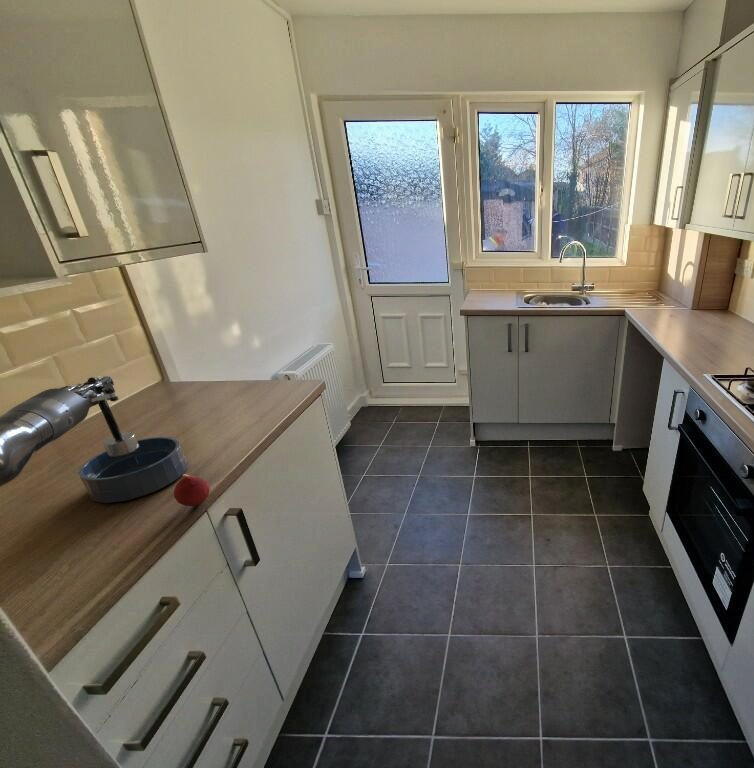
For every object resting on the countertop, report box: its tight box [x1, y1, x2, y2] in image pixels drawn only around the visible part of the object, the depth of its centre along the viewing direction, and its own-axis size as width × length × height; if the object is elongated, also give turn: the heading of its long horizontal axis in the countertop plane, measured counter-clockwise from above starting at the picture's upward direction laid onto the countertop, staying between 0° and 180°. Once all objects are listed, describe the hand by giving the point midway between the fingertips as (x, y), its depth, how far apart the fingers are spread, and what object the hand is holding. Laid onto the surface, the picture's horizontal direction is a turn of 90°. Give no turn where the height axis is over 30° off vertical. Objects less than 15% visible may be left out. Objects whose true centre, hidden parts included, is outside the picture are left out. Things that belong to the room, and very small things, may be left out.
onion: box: [173, 473, 211, 508], centre depth 86 cm, size 6×6×8 cm
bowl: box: [77, 436, 188, 504], centre depth 95 cm, size 17×17×6 cm
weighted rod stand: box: [87, 376, 139, 457], centre depth 87 cm, size 5×5×17 cm
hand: (103, 381), depth 87 cm, fingers closed on weighted rod stand, 1 cm apart
